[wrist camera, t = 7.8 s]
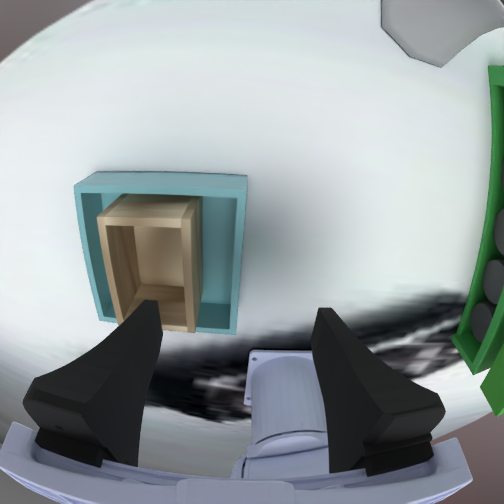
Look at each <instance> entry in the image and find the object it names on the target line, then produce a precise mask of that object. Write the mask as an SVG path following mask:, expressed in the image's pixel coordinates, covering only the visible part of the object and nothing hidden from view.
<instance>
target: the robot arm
mask: <svg viewBox="0 0 504 504" xmlns="http://www.w3.org/2000/svg"><path fill="white" fill-rule="evenodd" d="M162 336H163V331H162V325H161V319H160V312H159V306H158V301H157V300H144V301H143V302H142V303H141V304H140V305H139V306H138V307H137V308H136V309H135V310H134V311H133V312H132V313H131V314H130V315H129V316H128V317H127V318H126V319H125V320H124V321H123V322H122V323H121V324H120V325H119V326H118V327H117V328H116V329H115V330H114V331H113V332H112V333H111V334H110V335H109V336H107V337H106V338H105V339H104V340H103V341H102V342H100V343H99V344H98V345H97V346H95V347H94V348H92V349H91V350H90V351H88V352H87V353H85V354H84V355H82V356H80V357H79V358H77V359H76V360H74V361H72V362H71V363H69V364H67V365H65V366H63V367H61V368H59V369H57V370H54V371H52V372H50V373H47V374H45V375H42V376H39V377H37V378H34V380H33V382H32V383H31V385H30V387H29V389H28V391H27V393H26V395H25V397H24V399H23V405H24V408H25V410H26V411H27V413H28V414H29V415H30V416H31V418H32V419H33V420H34V421H35V422H36V424H37V425H38V426H39V427H40V429H39V431H38V433H37V432H36V431H34V430H33V429H31V428H28V427H26V426H24V425H21V424H19V423H17V422H12V424H11V427H10V429H9V431H8V433H7V436H6V438H5V441H4V443H3V445H2V448H1V450H0V469H2V470H3V471H4V472H5V473H7V474H8V475H9V476H11V477H12V478H14V479H15V480H16V481H18V482H19V483H21V484H22V485H23V486H25V487H27V488H29V489H31V490H33V491H35V492H37V493H39V494H41V495H43V496H45V497H48V498H50V499H52V500H54V501H57V502H59V503H61V504H434V503H436V502H438V501H441V500H443V499H445V498H446V497H448V496H449V495H451V494H453V493H455V492H456V491H458V490H459V489H461V488H462V487H464V486H465V485H467V484H468V483H469V482H471V481H472V480H473V478H472V476H471V473H470V470H469V467H468V465H467V462H466V459H465V457H464V454H463V452H462V449H461V447H460V444H459V442H458V439H457V438H452V439H449V440H446V441H444V442H440V443H438V444H436V445H434V446H432V447H431V444H430V442H429V441H431V440H432V436H431V433H430V432H431V431H432V430H433V429H434V428H435V427H436V426H437V425H438V424H439V422H440V421H441V420H442V419H443V417H444V415H445V412H446V411H445V408H444V405H443V403H442V401H441V399H440V397H439V395H438V393H435V392H433V391H431V390H429V389H426V388H424V387H422V386H420V385H418V384H416V383H414V382H413V381H411V380H409V379H407V378H406V377H404V376H402V375H401V374H399V373H398V372H396V371H395V370H394V369H392V368H391V367H389V366H388V365H387V364H385V363H384V362H383V361H382V360H381V359H379V358H378V357H377V356H376V355H375V354H373V353H372V352H371V351H370V350H369V349H368V348H367V347H366V346H365V345H364V344H363V343H362V342H361V341H360V340H359V339H358V338H357V337H356V336H355V334H354V333H353V332H352V331H351V330H350V329H349V328H348V327H347V325H346V324H345V323H344V322H343V321H342V319H341V318H340V317H339V316H338V315H337V314H336V312H335V311H334V310H333V309H332V308H318V312H317V317H316V321H315V325H314V329H313V332H312V336H311V348H312V351H284V350H252V351H250V354H249V363H248V371H247V379H246V388H245V396H244V404H245V405H251V408H252V445H251V446H247V447H246V453H247V456H244V457H240V458H239V459H238V460H237V462H236V463H235V465H234V466H233V468H232V472H231V478H218V477H204V476H193V475H184V474H176V473H169V472H162V471H156V470H150V469H144V468H139V467H138V452H139V441H140V431H141V424H142V417H143V410H144V404H145V399H146V395H147V391H148V388H149V384H150V381H151V378H152V375H153V372H154V369H155V365H156V362H157V359H158V356H159V353H160V347H161V342H162ZM254 357H255V358H254Z"/></svg>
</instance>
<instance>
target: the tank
mask: <svg viewBox="0 0 504 504" xmlns="http://www.w3.org/2000/svg"><path fill="white" fill-rule="evenodd" d="M488 72H489V83H490V96H491V117H492V148H491V169H490V182H489V192H488V201H487V209H486V216H485V223H484V229H483V234H482V240H481V245H480V250H479V255H478V259H477V264H476V268H475V272H474V276H473V280H472V284H471V288H470V291H469V295H468V298H467V302H466V305H465V308H464V311H463V314H462V317H461V321H460V323H459V326H458V329H457V332H456V333H455V334H453V335H452V338H451V341H452V342H453V344H454V345H455V347H456V348H457V350H458V351H459V353H460V355H461V356H462V358H463V359H464V361H465V363H466V364H467V366H468V367H469V369H470V371H471V372H472V374H473V375H475V374H477V373H480V372H482V371H484V370H486V369H489V368H491V369H490V370H489V372H488V374H487V376H486V377H485V379H484V381H483V383H482V384H481V386H480V388H481V390H482V392H483V393H484V395H485V397H486V399H487V401H488V403H489V404H490V406H491V408H492V410H493V412H494V414H495V416H496V417H497V416H499V415H501V414H503V413H504V66H488Z"/></svg>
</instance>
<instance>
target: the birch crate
mask: <svg viewBox="0 0 504 504" xmlns="http://www.w3.org/2000/svg"><path fill="white" fill-rule="evenodd" d="M97 223H98V230H99V236H100V242H101V248H102V254H103V260H104V265H105V270H106V275H107V280H108V284H109V289H110V293H111V298H112V302H113V306H114V310H115V314H116V318H117V322H118V325H120V324H121V323H122V322H123V321H124V320H125V319H126V318H127V317H128V316H129V315H130V314H131V313H132V312H133V311H134V310H135V309H136V308H137V307H138V306H139V305H140V304H141V303H142V302H143V301H144V300H157V301H158V306H159V312H160V319H161V325H162V330H168V331H179V332H191V333H195V330H196V325H197V319H198V314H199V309H200V304H201V299H202V293H203V196H192V195H168V194H134V193H123V194H121V195H120V196H119V197H118V198H117V199H116V200H115V201H113V202H112V203H111V204H110V205H109V206H108V207H107V208H106V209H105V210H103V211H102V212H101V213H100V214H99V215H98V216H97Z"/></svg>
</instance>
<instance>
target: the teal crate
mask: <svg viewBox="0 0 504 504" xmlns="http://www.w3.org/2000/svg"><path fill="white" fill-rule="evenodd" d="M123 193H134V194H168V195H192V196H203V293H202V299H201V304H200V309H199V314H198V319H197V325H196V330H195V332H204V333H217V334H232V335H236V326H237V312H238V299H239V285H240V272H241V259H242V246H243V233H244V220H245V208H246V196H247V175H233V174H216V173H194V172H161V171H102V172H95V173H94V174H92V175H90V176H88V177H87V178H85V179H84V180H82V181H80V182H79V183H77V184H75V185H74V194H75V202H76V210H77V217H78V224H79V230H80V236H81V242H82V248H83V253H84V258H85V263H86V268H87V272H88V277H89V281H90V286H91V290H92V294H93V298H94V302H95V306H96V309H97V313H98V317H99V320H100V321H107V322H113V323H118V322H117V318H116V314H115V310H114V306H113V302H112V298H111V293H110V289H109V284H108V280H107V275H106V270H105V265H104V260H103V254H102V248H101V242H100V236H99V230H98V223H97V216H98V215H99V214H100V213H101V212H102V211H103V210H105V209H106V208H107V207H108V206H109V205H110V204H111V203H112V202H113V201H115V200H116V199H117V198H118V197H119V196H120V195H121V194H123Z"/></svg>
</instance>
